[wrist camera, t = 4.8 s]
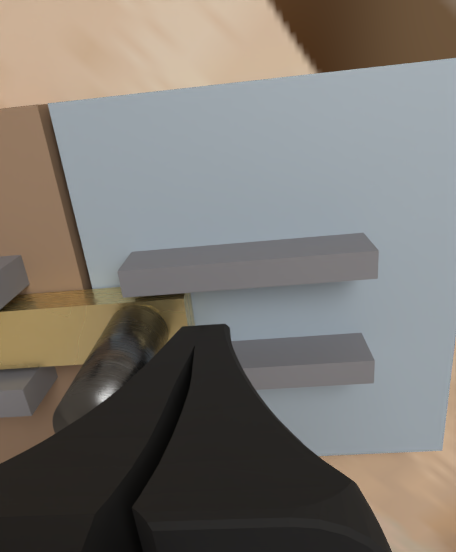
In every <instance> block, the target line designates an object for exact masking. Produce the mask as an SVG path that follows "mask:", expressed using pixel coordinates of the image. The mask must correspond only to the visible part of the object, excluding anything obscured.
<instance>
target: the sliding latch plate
mask: <svg viewBox="0 0 456 552" xmlns="http://www.w3.org/2000/svg"><path fill="white" fill-rule="evenodd" d="M113 287H121V291H122V296H123V298H126V297H139V296H153V295H166V294H180V293H191V300H192V307H193V314H194V321H195V326H197V325H212V324H226V325H227V326H229V327H230V334H231V343H232V346H233V349H234V351H235V354H236V356H237V358H238V360H239V362H240V364H241V366H242V368H243V370H244V372H245V374H246V376H247V377H248V379H249V380H250V382H251V384H252V385H253V387H254V388H255V390H256V391H257V393H258V394H259V396H260V397H261V398H262V400H263V401H264V402H265V404H266V405H267V406H268V407H269V409H270V410H271V411H272V412H273V413H274V414H275V416H276V417H277V418H278V419H279V420H280V421H281V422H282V423H283V424H284V425H285V426H286V427H287V428H288V429H289V430H290V431H291V432H292V433H293V434H294V435H295V436H296V437H297V438H298V439H299V440H300V441H301V442H302V443H303V444H304V445H305V446H307V447H308V448H309V449H310V450H311V451H312V452H314V453H315V454H316V455H317V456H329V455H352V454H375V453H398V452H421V451H442V447H443V439H444V430H445V422H446V413H447V405H448V397H449V388H450V380H451V371H452V363H453V354H454V346H455V337H456V58H453V59H444V60H435V61H426V62H417V63H408V64H399V65H390V66H381V67H372V68H363V69H354V70H345V71H336V72H327V73H318V74H309V75H300V76H291V77H282V78H273V79H264V80H255V81H246V82H237V83H228V84H219V85H210V86H201V87H192V88H183V89H174V90H165V91H156V92H147V93H138V94H129V95H120V96H111V97H102V98H93V99H84V100H75V101H66V102H57V103H48V104H43V105H30V106H21V107H12V108H3V109H0V309H2V308H3V307H4V306H5V305H6V304H7V303H8V302H10V301H11V300H12V299H13V298H14V297H15V296H17V295H21V294H34V293H47V292H61V291H74V290H87V289H100V288H113ZM82 365H83V364H81V365H65V366H49V367H33V368H17V369H1V370H0V464H1V463H3V462H5V461H7V460H8V459H10V458H12V457H14V456H16V455H18V454H20V453H22V452H24V451H26V450H28V449H30V448H31V447H33V446H35V445H37V444H39V443H40V442H42V441H44V440H46V439H47V438H49V437H51V436H52V435H54V434H55V432H54V429H53V422H52V420H53V414H54V412H55V410H56V408H57V406H58V404H59V403H60V401H61V400H62V398H63V396H64V395H65V393H66V391H67V390H68V388H69V386H70V385H71V383H72V382H73V380H74V378H75V377H76V375H77V373H78V372H79V370H80V368H81V367H82Z"/></svg>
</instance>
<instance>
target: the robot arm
mask: <svg viewBox="0 0 456 552" xmlns="http://www.w3.org/2000/svg"><path fill="white" fill-rule="evenodd" d="M0 552H392V551H391V549H390V546H389V544H388V542H387V540H386V537H385V535H384V533H383V531H382V529H381V527H380V525H379V523H378V521H377V519H376V517H375V515H374V513H373V511H372V510H371V508H370V506H369V504H368V503H367V501H366V499H365V497H364V496H363V494H362V492H361V491H360V489H359V487H358V486H357V484H356V483H355V482H354V481H352V480H351V479H350V478H348V477H347V476H345V475H344V474H342V473H341V472H339V471H338V470H337V469H335V468H334V467H332V466H331V465H329V464H328V463H326V462H325V461H324V460H322V459H321V458H320V457H318V456H317V455H316V454H315V453H314V452H312V451H311V450H310V449H309V448H308V447H307V446H305V445H304V444H303V443H302V442H301V441H300V440H299V439H298V438H297V437H296V436H295V435H294V434H293V433H292V432H291V431H290V430H289V429H288V428H287V427H286V426H285V425H284V424H283V423H282V422H281V421H280V420H279V419H278V418H277V417H276V416H275V414H274V413H273V412H272V411H271V410H270V409H269V407H268V406H267V405H266V404H265V402H264V401H263V400H262V398H261V397H260V396H259V394H258V393H257V391H256V390H255V388H254V387H253V385H252V384H251V382H250V380H249V379H248V377H247V376H246V374H245V372H244V370H243V368H242V366H241V364H240V362H239V360H238V358H237V356H236V354H235V351H234V349H233V346H232V343H231V334H230V327H229V326H227V325H226V324H212V325H197V326H182V327H181V328H180V329H179V330H178V331H177V332H176V333H175V334H174V335H173V337H172V338H171V339H170V340H169V341H168V342H167V343H166V344H165V345H164V346H163V347H162V348H161V349H160V350H159V351H158V353H157V354H156V355H155V356H154V357H153V358H152V359H151V360H150V361H149V362H148V363H147V364H146V365H145V366H144V367H143V368H141V369H140V370H139V371H138V372H137V373H136V374H135V375H134V376H133V377H132V378H131V379H129V380H128V381H127V382H126V383H125V384H124V385H123V386H122V387H121V388H119V389H118V390H117V391H116V392H115V393H113V394H112V395H111V396H110V397H108V398H107V399H106V400H105V401H103V402H102V403H100V404H99V405H98V406H96V407H95V408H94V409H92V410H91V411H90V412H88V413H87V414H85V415H84V416H82V417H81V418H79V419H78V420H76V421H75V422H73V423H71V424H70V425H68V426H67V427H65V428H63V429H62V430H60V431H59V432H57V433H55V434H54V435H52V436H51V437H49V438H47V439H46V440H44V441H42V442H40V443H39V444H37V445H35V446H33V447H31V448H30V449H28V450H26V451H24V452H22V453H20V454H18V455H16V456H14V457H12V458H10V459H8V460H7V461H5V462H3V463H1V464H0Z"/></svg>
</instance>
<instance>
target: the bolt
mask: <svg viewBox="0 0 456 552" xmlns="http://www.w3.org/2000/svg"><path fill="white" fill-rule="evenodd" d="M182 326H195V321H194V314H193V307H192V300H191V293H180V294H166V295H153V296H139V297H126V298H123V296H122V291H121V287H113V288H100V289H87V290H74V291H61V292H47V293H34V294H21V295H17V296H15V297H14V298H13V299H12V300H11V301H10V302H8V303H7V304H6V305H5V306H4V307H3V308H2V309H0V370H1V369H17V368H33V367H49V366H65V365H81V364H83V365H82V367H81V368H80V370H79V372H78V373H77V375H76V377H75V378H74V380H73V382H72V383H71V385H70V386H69V388H68V390H67V391H66V393H65V395H64V396H63V398H62V400H61V401H60V403H59V404H58V406H57V408H56V410H55V412H54V414H53V420H52V422H53V429H54V432H55V433H57V432H59V431H60V430H62V429H63V428H65V427H67V426H68V425H70V424H71V423H73V422H75V421H76V420H78V419H79V418H81V417H82V416H84V415H85V414H87V413H88V412H90V411H91V410H92V409H94V408H95V407H96V406H98V405H99V404H100V403H102V402H103V401H105V400H106V399H107V398H108V397H110V396H111V395H112V394H113V393H115V392H116V391H117V390H118V389H119V388H121V387H122V386H123V385H124V384H125V383H126V382H127V381H128V380H129V379H131V378H132V377H133V376H134V375H135V374H136V373H137V372H138V371H139V370H140V369H141V368H143V367H144V366H145V365H146V364H147V363H148V362H149V361H150V360H151V359H152V358H153V357H154V356H155V355H156V354H157V353H158V351H159V350H160V349H161V348H162V347H163V346H164V345H165V344H166V343H167V342H168V341H169V340H170V339H171V338H172V337H173V335H174V334H175V333H176V332H177V331H178V330H179V329H180V328H181V327H182Z"/></svg>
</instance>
